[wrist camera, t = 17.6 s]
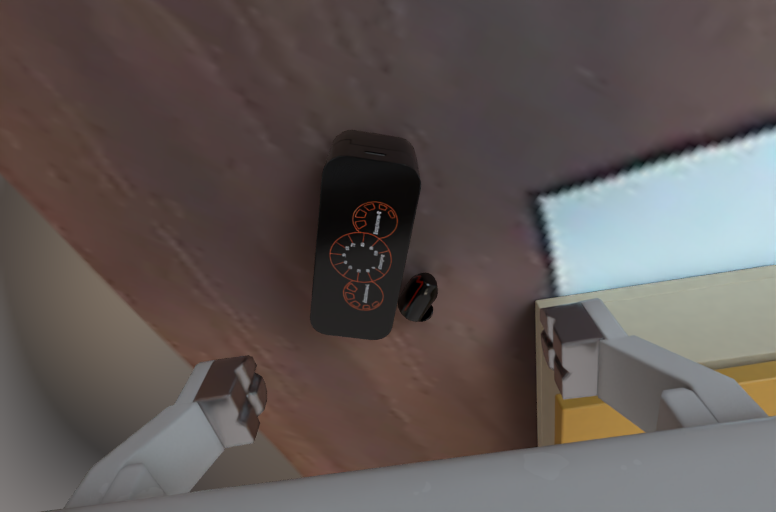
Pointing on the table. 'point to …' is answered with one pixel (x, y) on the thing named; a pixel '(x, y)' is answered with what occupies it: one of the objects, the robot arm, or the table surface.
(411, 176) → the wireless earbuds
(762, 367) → the cover
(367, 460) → the table surface
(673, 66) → the table surface
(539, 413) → the tan lidded tray
